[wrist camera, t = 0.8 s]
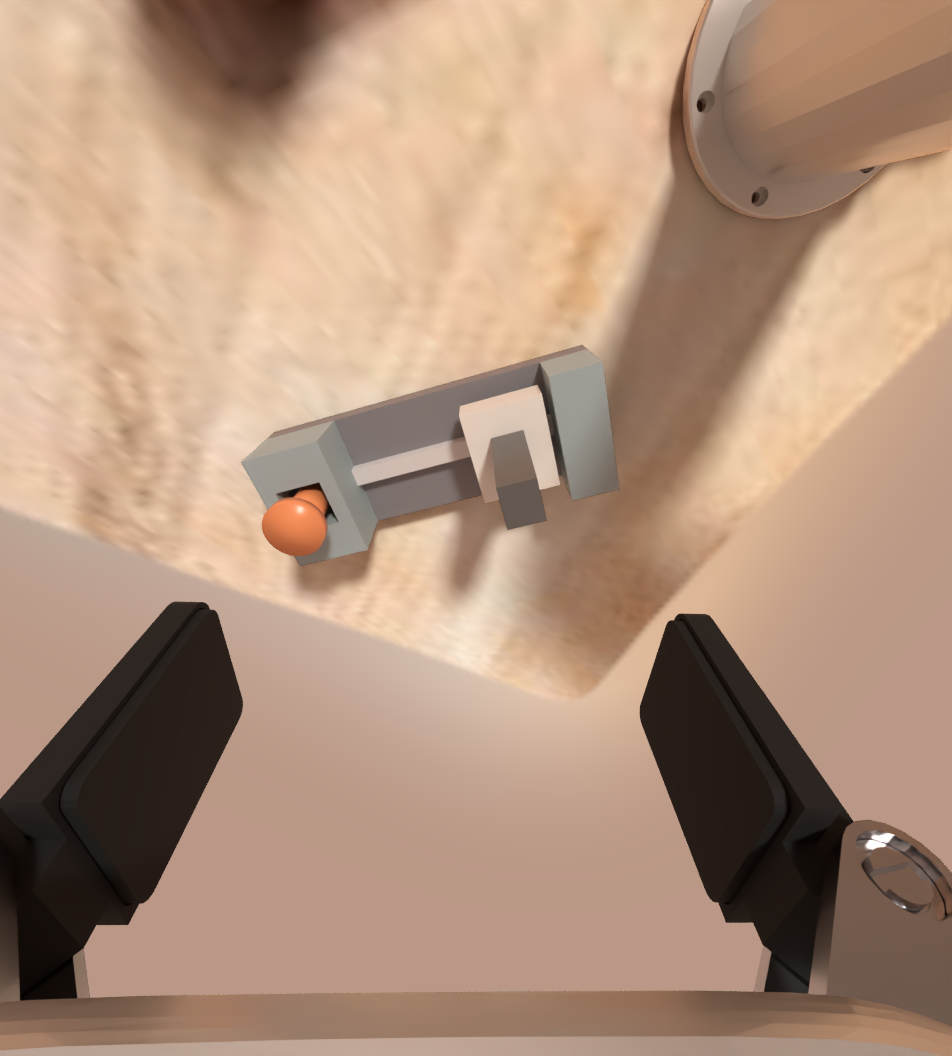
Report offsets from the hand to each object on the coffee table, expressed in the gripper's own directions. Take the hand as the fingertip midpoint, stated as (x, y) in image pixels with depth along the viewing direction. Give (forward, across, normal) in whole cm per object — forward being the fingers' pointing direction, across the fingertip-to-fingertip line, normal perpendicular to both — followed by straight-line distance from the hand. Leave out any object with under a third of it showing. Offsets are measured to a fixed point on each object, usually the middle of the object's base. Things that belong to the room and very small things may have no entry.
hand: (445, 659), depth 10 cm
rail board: (+25, +1, +4) cm, 25 cm away
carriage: (+22, -3, +3) cm, 23 cm away
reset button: (+22, +9, +7) cm, 25 cm away
